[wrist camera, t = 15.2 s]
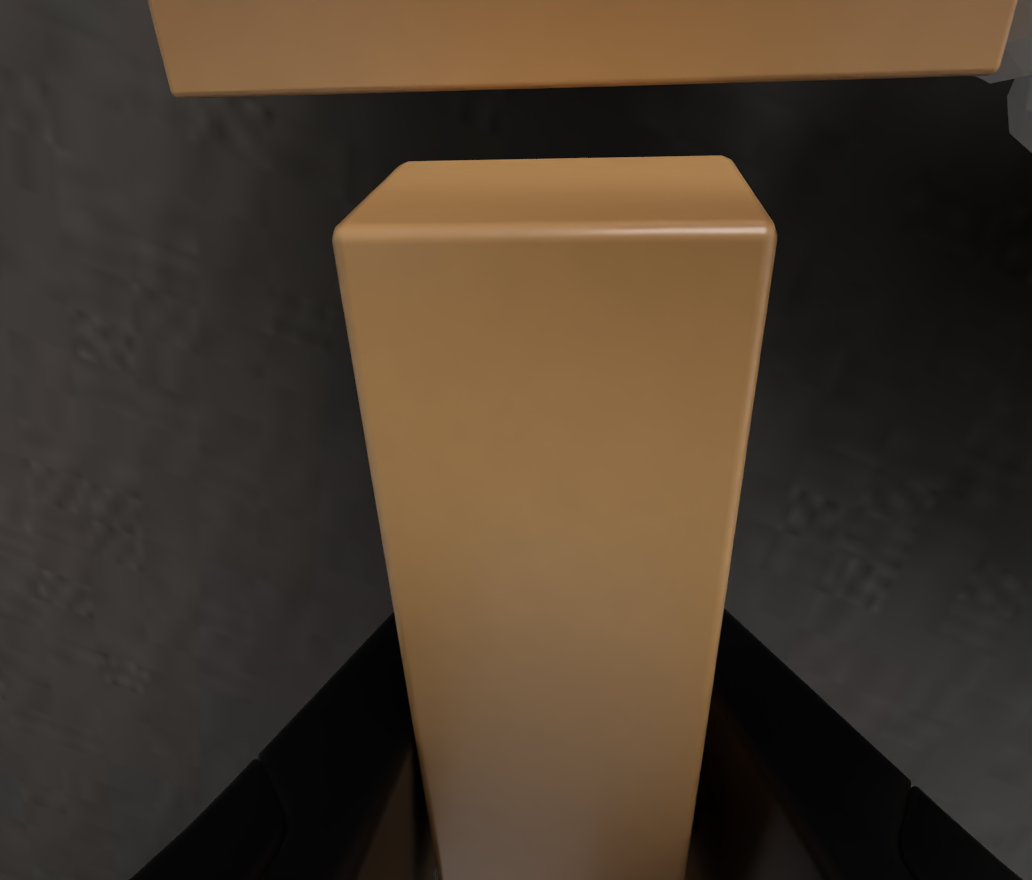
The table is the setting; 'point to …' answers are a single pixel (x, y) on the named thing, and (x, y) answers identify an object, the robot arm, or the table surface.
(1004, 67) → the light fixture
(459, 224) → the wooden blocks
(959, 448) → the table surface
